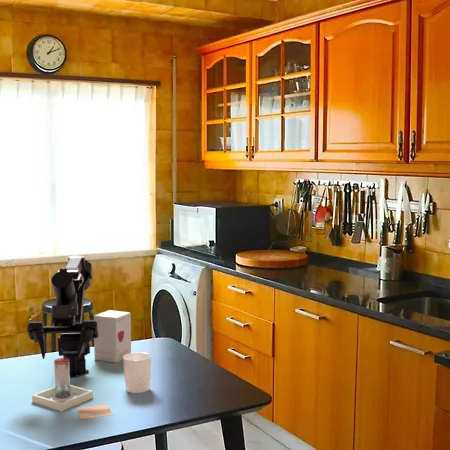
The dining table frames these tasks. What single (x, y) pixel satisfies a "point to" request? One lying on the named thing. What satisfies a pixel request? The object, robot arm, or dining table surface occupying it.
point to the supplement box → (113, 336)
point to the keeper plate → (94, 411)
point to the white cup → (137, 371)
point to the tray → (79, 397)
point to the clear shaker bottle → (62, 380)
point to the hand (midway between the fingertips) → (60, 357)
